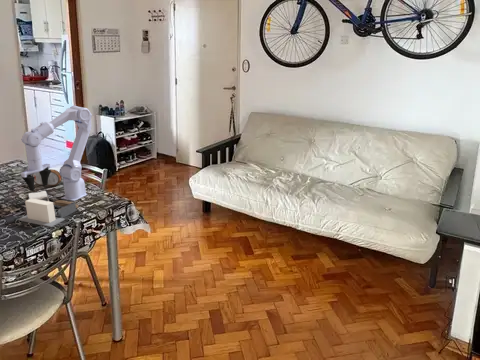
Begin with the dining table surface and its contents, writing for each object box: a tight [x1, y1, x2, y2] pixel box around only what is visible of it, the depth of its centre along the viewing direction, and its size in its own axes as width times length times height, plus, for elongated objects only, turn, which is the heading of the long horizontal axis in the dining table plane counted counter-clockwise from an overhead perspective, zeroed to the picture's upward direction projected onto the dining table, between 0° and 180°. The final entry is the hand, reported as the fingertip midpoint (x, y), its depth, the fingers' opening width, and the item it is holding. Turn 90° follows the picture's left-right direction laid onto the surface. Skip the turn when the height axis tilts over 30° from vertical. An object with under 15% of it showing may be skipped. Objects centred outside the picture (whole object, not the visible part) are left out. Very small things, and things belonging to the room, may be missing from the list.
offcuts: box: [53, 199, 79, 209], centre depth 206 cm, size 3×13×2 cm, turn 68°
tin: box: [31, 168, 63, 187], centre depth 232 cm, size 15×3×8 cm, turn 84°
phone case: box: [27, 190, 51, 202], centre depth 214 cm, size 9×2×16 cm
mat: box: [17, 214, 66, 228], centre depth 192 cm, size 8×18×1 cm, turn 68°
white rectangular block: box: [24, 198, 56, 223], centre depth 191 cm, size 4×12×8 cm, turn 68°
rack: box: [40, 197, 77, 219], centre depth 200 cm, size 9×17×4 cm, turn 68°
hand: (38, 187), depth 203 cm, fingers open, 7 cm apart
